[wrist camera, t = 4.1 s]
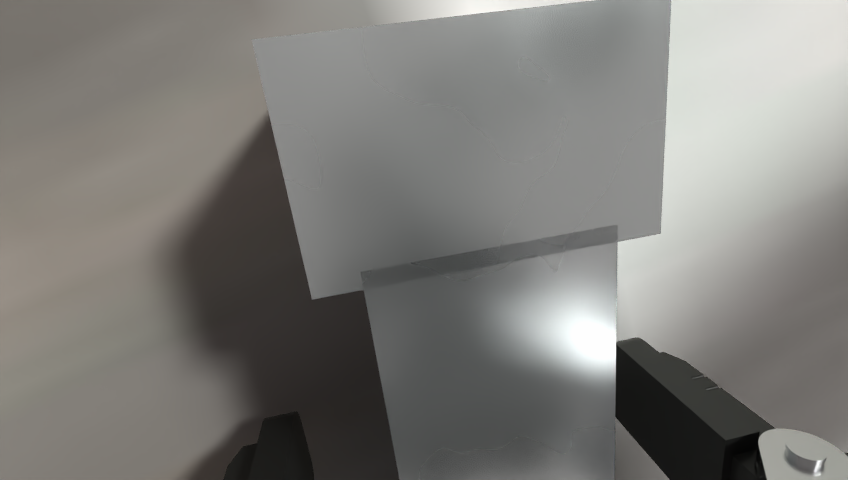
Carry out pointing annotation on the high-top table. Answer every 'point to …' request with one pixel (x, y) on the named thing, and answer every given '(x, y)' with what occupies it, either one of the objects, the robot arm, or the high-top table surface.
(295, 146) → the grey stone pillar
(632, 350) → the robot arm
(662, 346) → the high-top table surface
